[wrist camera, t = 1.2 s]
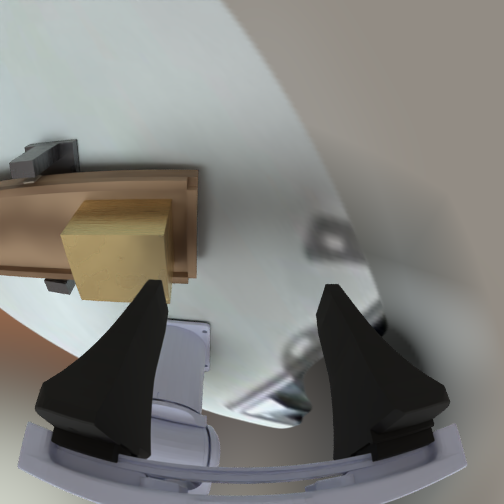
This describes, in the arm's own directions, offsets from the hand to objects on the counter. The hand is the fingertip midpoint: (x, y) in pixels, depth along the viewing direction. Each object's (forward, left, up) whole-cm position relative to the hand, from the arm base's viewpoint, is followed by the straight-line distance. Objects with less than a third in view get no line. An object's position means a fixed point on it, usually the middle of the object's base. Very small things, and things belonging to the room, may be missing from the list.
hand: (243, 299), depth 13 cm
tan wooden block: (-2, +8, -7) cm, 10 cm away
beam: (-2, +15, -7) cm, 16 cm away
